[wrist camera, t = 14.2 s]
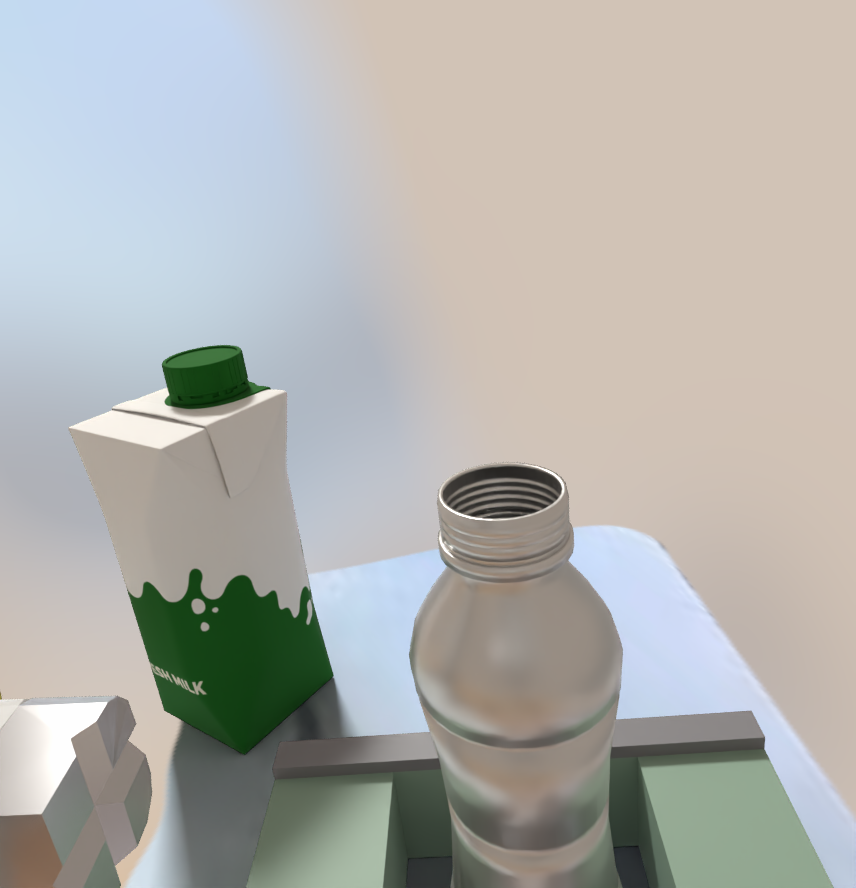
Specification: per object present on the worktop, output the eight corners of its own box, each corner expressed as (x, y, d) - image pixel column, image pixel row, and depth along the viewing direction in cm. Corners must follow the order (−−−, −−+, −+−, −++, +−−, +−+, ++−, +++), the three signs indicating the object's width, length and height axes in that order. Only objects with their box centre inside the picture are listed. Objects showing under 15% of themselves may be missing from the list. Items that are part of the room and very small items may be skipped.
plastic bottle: (510, 1111, 25) (447, 583, 17) (427, 931, 30) (352, 477, 23) (672, 1013, 27) (679, 504, 19) (565, 861, 33) (539, 425, 25)
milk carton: (355, 672, 46) (296, 348, 38) (241, 776, 39) (141, 410, 32) (255, 631, 51) (185, 338, 43) (139, 717, 44) (32, 389, 37)
